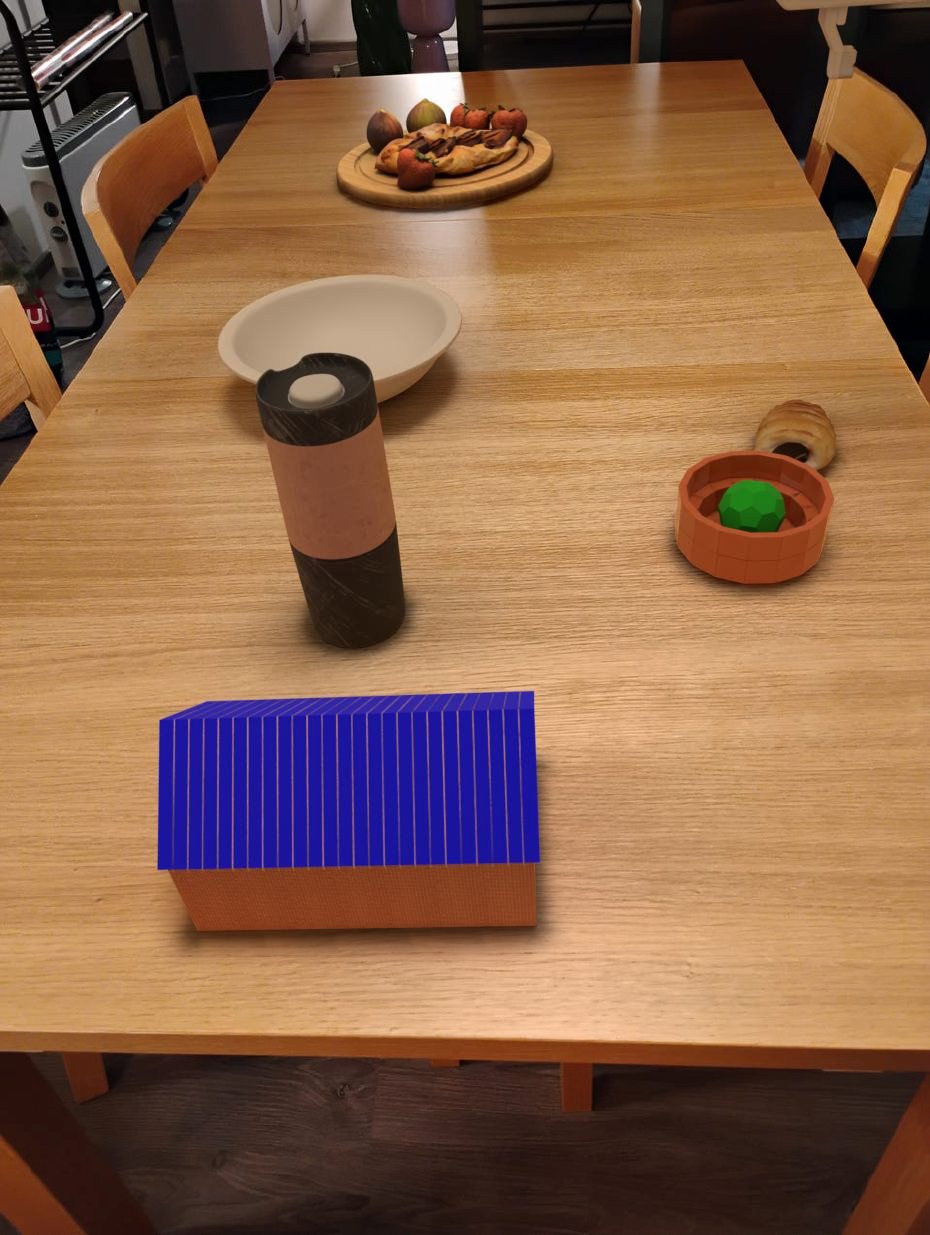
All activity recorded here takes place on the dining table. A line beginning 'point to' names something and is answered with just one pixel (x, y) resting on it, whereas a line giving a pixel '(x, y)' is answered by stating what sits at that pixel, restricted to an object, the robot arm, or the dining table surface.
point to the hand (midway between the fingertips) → (908, 73)
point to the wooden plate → (444, 157)
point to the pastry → (798, 433)
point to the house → (352, 811)
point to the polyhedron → (752, 507)
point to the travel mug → (335, 495)
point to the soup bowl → (345, 328)
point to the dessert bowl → (746, 551)
